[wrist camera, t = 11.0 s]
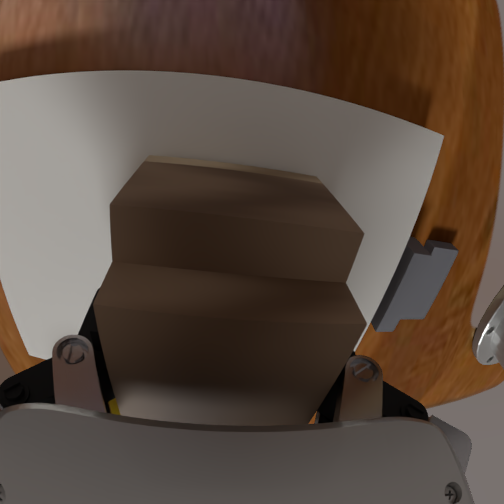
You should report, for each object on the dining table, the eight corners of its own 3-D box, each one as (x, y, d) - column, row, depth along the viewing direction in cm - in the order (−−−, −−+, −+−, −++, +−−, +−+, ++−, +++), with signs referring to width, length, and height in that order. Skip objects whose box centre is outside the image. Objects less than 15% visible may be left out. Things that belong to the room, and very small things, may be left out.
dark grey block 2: (434, 247, 14) (423, 235, 16) (399, 319, 17) (391, 306, 18) (458, 250, 15) (447, 240, 16) (423, 318, 17) (415, 306, 18)
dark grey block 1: (431, 255, 13) (414, 253, 13) (393, 331, 16) (375, 331, 16) (413, 235, 15) (395, 232, 15) (380, 308, 18) (363, 307, 18)
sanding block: (316, 176, 11) (392, 270, 6) (264, 360, 16) (280, 462, 11) (149, 155, 10) (83, 239, 5) (150, 351, 15) (135, 456, 10)
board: (425, 128, 12) (444, 135, 11) (328, 369, 20) (333, 386, 19) (-5, 82, 9) (-24, 86, 8) (37, 339, 17) (29, 355, 16)
